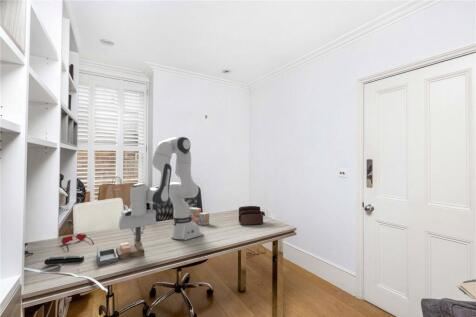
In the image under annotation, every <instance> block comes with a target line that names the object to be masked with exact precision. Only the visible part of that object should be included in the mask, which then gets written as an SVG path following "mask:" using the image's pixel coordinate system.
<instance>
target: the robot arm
mask: <svg viewBox="0 0 476 317" xmlns="http://www.w3.org/2000/svg"><path fill="white" fill-rule="evenodd" d="M190 150H191V141H190V139H189V138H188V137H185V136H180V137H179V136H178V137H177V136H175V137H171V138H167V139H164V140H163V141H160V142H159V143H158V145H157V146H156V148H155V151H154V154H153V156H152V159H151V160H152V162H151V164H152V165H153V167H154V169H155V170H158V171H159V172H160V181H159V186H158V187H151V186H149V185H147V184H146V183H144V182H137V183H134V184H132V185H131V187H130V192H129V200H130V204H129V207H128V208H126V209H124V210H122V211H121V214H120V217H119V221H118V229H119V230H120V231H121V230H128V229H130V230H131V232H132V235H133V236H135V235H136V231H135V227H141V235H143V234H144V230H145V229H146V227H147V226H154V225H156V224H157V210H156V209H151V208H150V209H147V204H151V205H152V204H153V205H156V206H157V205H158V206H164V205H165V204H166V203H168V200H169V199H170V201H171V203H172V207H173V217H172V232H171V235H170V238H172V239H175V240H185V241H187V240H191V239H193V238H197V237H200V236H203V235H204V234H203V231H201V230H200V229H201V228H200V226H199V224H196V223H194V222H193V221H192V220H194V217H191V216H189V207H190V205H189V203H188V202H186V201H185V198H186V199H190V198H191V199H192V198H196V197H197V196H198V194H199V186H198V185H197V183H196V182H195V181H194V180H193V177H192V155H191V154H192V152H191V151H190ZM173 154H175V155H176V160H175V171H174V174H175V175H176V176H177V177H178V178H179V180H180V181H174V182H173V181H172V182H171V178H172V165H171V159H172V156H173Z"/></svg>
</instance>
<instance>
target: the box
mask: <svg viewBox="0 0 476 317" xmlns="http://www.w3.org/2000/svg"><path fill="white" fill-rule="evenodd" d="M96 260H97V266H98V267H100V266H105V265H111V264H114V263H118V262H119V260H118V255H117V253H116V247H114V248H113V247H112V248H107V249H103V250H100V249H99V246H97V247H96Z"/></svg>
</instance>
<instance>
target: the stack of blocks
mask: <svg viewBox="0 0 476 317" xmlns="http://www.w3.org/2000/svg"><path fill="white" fill-rule="evenodd" d="M189 216H191V217H194V220H192V221H193V222H194V223H196V224H197V225H201V226H206V225H209V224H210V212H206V211H205V212H204V211H202V208H201V207H193V206H189Z"/></svg>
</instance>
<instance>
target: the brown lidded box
mask: <svg viewBox="0 0 476 317" xmlns="http://www.w3.org/2000/svg"><path fill="white" fill-rule="evenodd" d="M262 213H263V212H262V210H261V207H260V206H257V205H246V206H245V205H244V206H239V207H238V223H239V225H241V226H245V225H247V226H248V225H263V224H264V215H263V214H262Z"/></svg>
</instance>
